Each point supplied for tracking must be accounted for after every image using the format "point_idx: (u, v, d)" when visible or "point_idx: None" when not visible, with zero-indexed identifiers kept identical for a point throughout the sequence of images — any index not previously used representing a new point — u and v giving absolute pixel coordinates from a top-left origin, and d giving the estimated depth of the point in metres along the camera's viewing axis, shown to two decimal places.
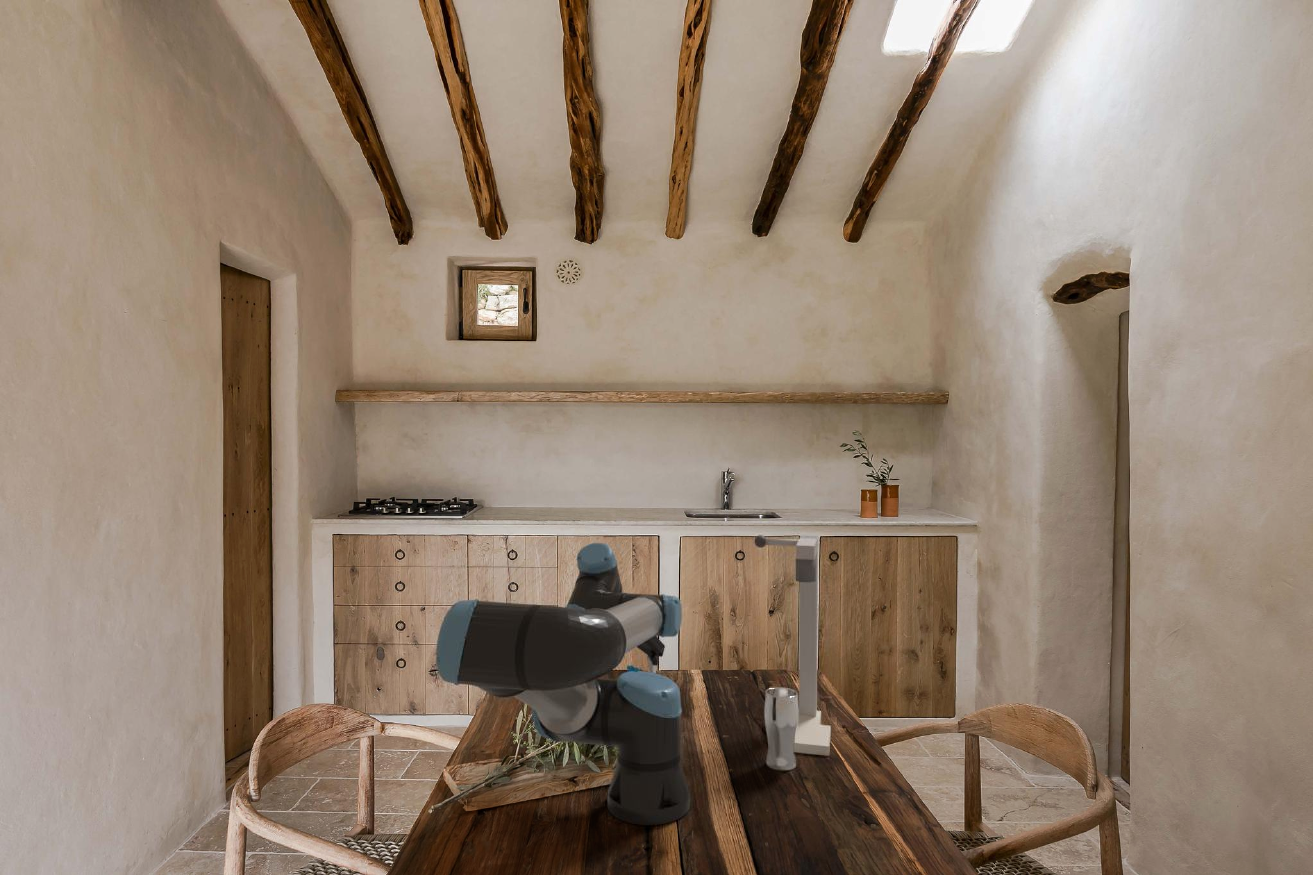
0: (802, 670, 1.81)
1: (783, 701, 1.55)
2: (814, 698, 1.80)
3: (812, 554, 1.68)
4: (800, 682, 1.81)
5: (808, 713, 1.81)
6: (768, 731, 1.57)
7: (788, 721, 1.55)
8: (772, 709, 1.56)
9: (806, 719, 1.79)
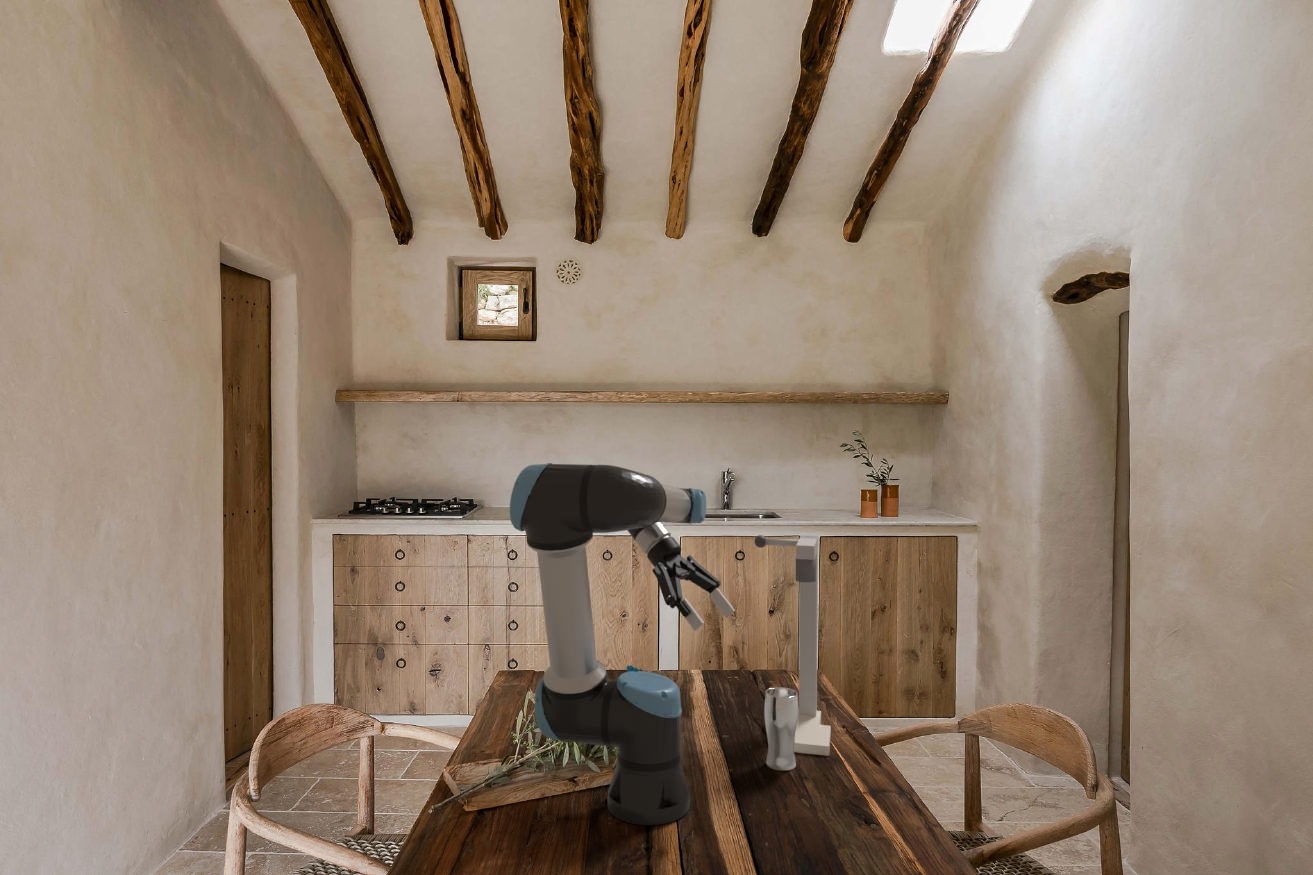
0: (802, 670, 1.81)
1: (783, 701, 1.55)
2: (814, 698, 1.80)
3: (812, 554, 1.68)
4: (800, 682, 1.81)
5: (808, 713, 1.81)
6: (768, 731, 1.57)
7: (788, 721, 1.55)
8: (772, 709, 1.56)
9: (806, 719, 1.79)
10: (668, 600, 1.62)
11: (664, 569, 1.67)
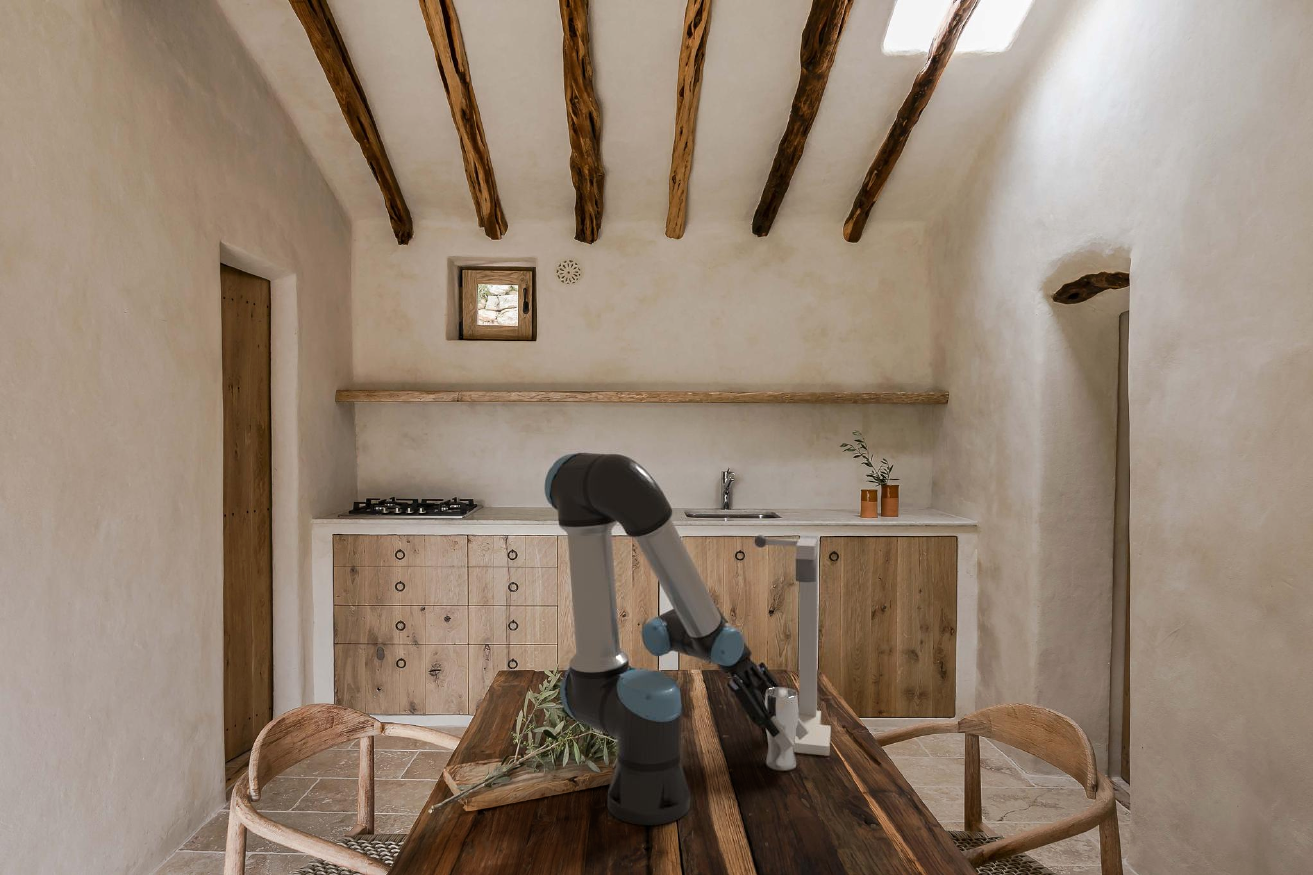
0: (802, 670, 1.81)
1: (783, 701, 1.55)
2: (814, 698, 1.80)
3: (812, 554, 1.68)
4: (800, 682, 1.81)
5: (808, 713, 1.81)
6: (768, 731, 1.57)
7: (788, 721, 1.55)
8: (772, 710, 1.56)
9: (806, 719, 1.79)
10: (757, 720, 1.54)
11: (741, 683, 1.57)
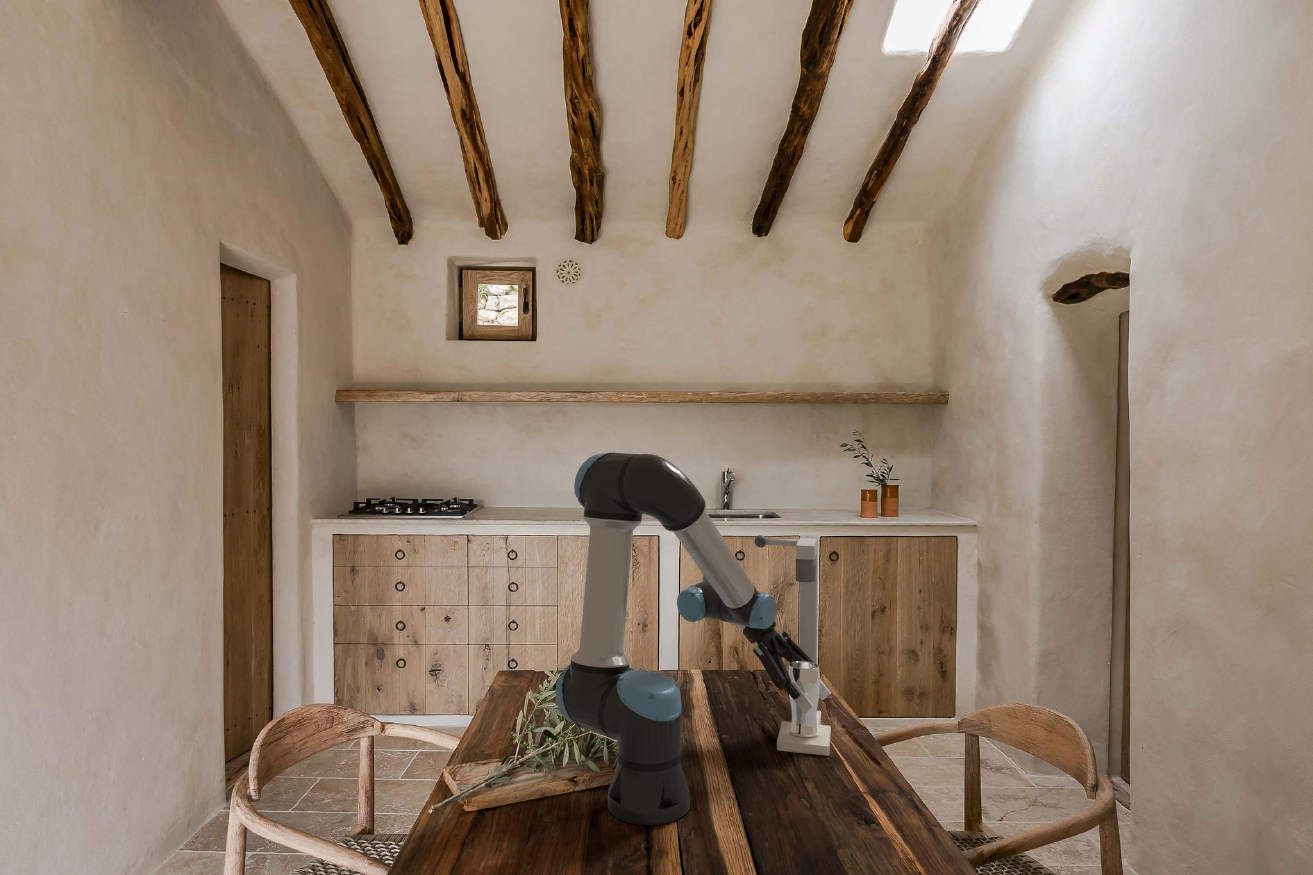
0: None
1: (806, 672, 1.67)
2: None
3: (812, 554, 1.68)
4: None
5: None
6: (792, 701, 1.69)
7: (811, 691, 1.67)
8: (796, 680, 1.68)
9: None
10: (778, 683, 1.65)
11: (766, 650, 1.69)
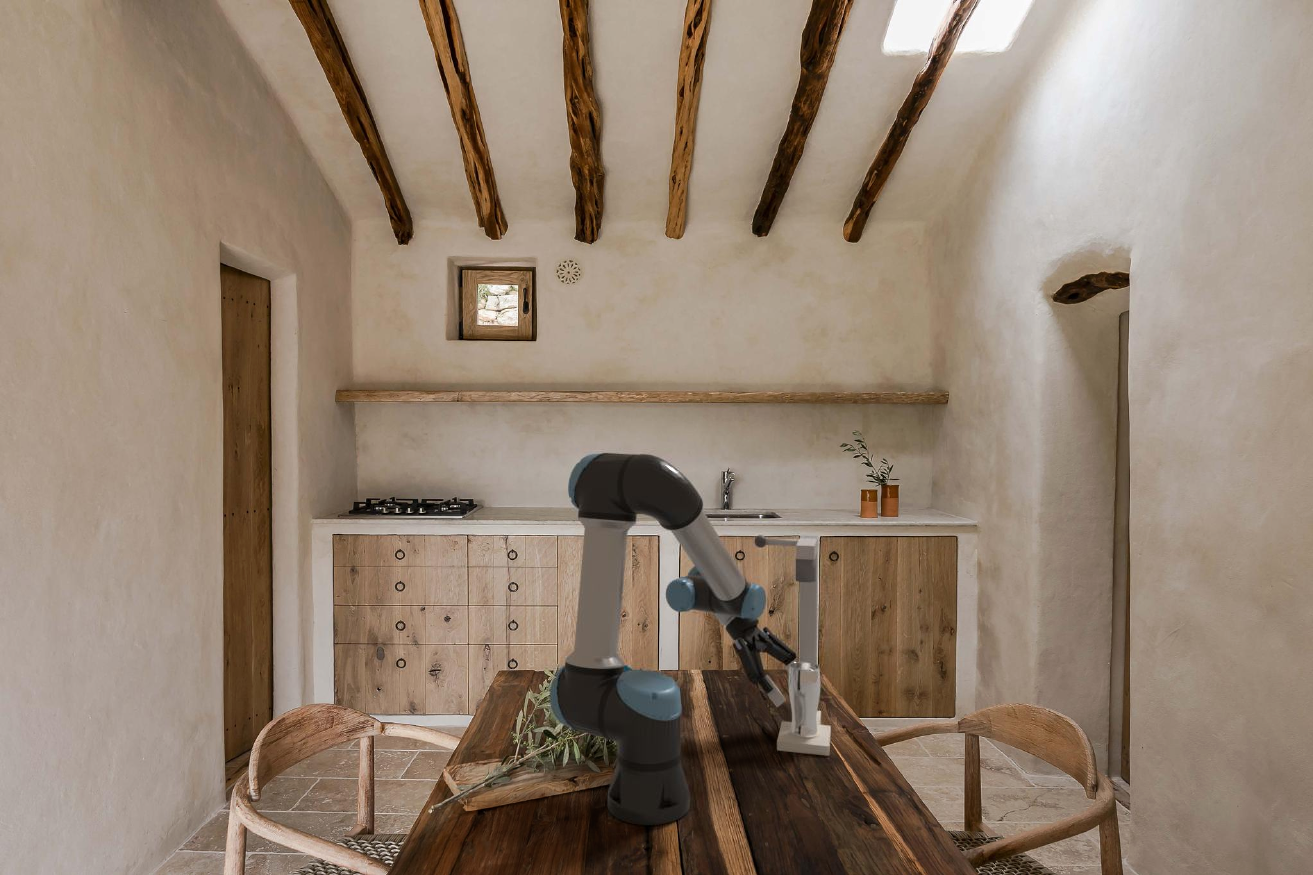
0: None
1: (806, 673, 1.67)
2: None
3: (812, 554, 1.68)
4: None
5: None
6: (792, 701, 1.69)
7: (811, 692, 1.67)
8: (796, 681, 1.68)
9: None
10: (751, 677, 1.67)
11: (745, 644, 1.72)
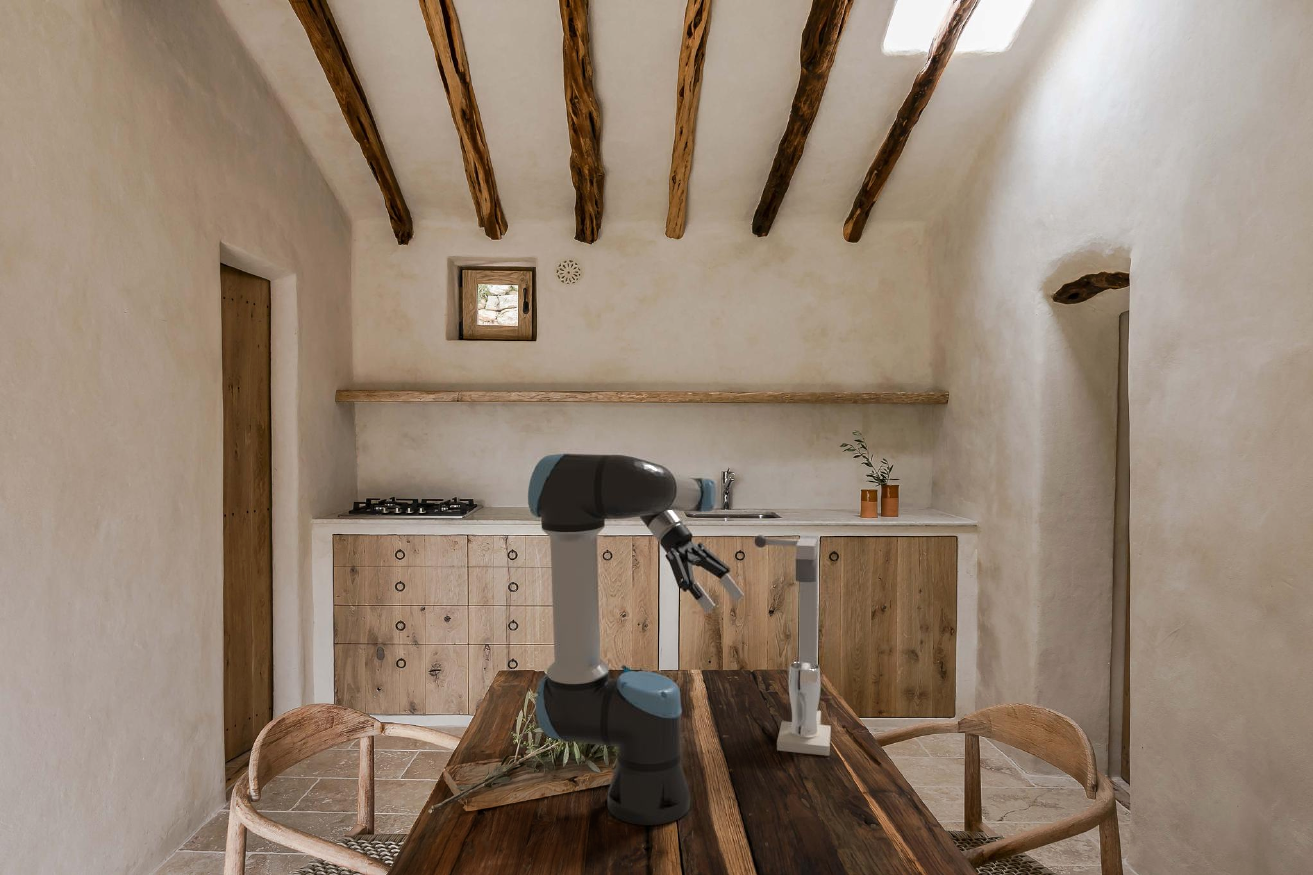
0: None
1: (806, 673, 1.67)
2: None
3: (812, 554, 1.68)
4: None
5: None
6: (792, 702, 1.69)
7: (811, 692, 1.67)
8: (796, 681, 1.68)
9: None
10: (681, 584, 1.70)
11: (677, 554, 1.75)
